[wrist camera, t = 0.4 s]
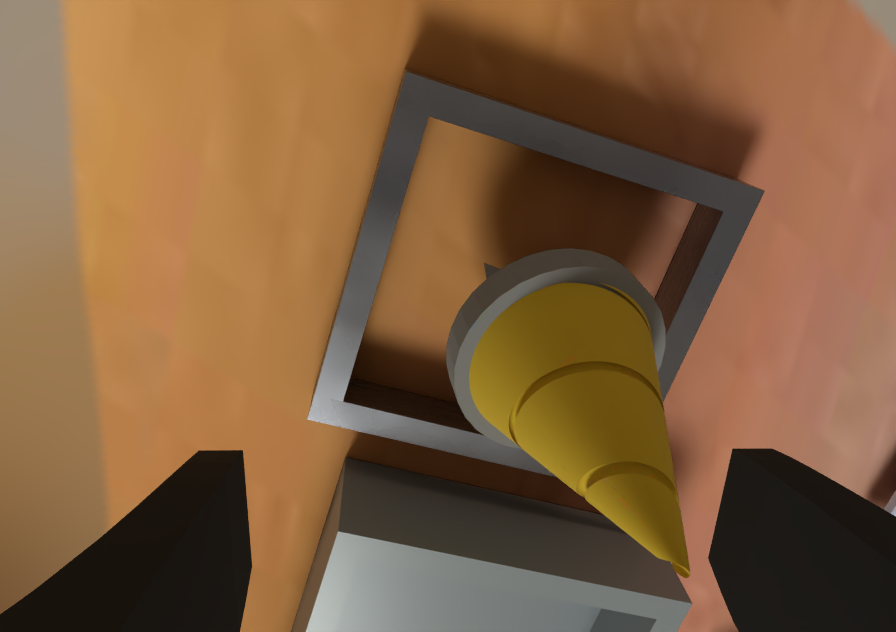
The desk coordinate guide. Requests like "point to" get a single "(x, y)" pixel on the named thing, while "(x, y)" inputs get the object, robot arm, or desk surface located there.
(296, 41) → the desk surface
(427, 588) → the bin
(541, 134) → the grey square frame
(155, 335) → the desk surface
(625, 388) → the drill bit
